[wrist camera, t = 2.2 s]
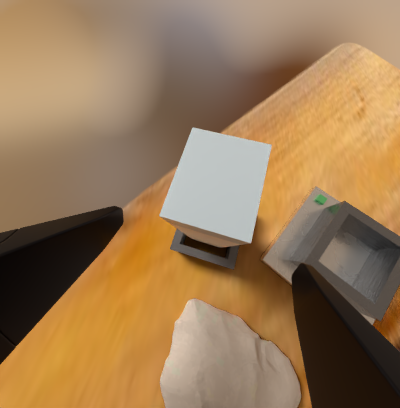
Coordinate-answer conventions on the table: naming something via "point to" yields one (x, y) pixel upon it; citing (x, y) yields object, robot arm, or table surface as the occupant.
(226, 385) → the decorative stone
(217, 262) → the grey hollow square frame
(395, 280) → the port
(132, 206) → the table surface
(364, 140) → the table surface
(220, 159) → the plug
